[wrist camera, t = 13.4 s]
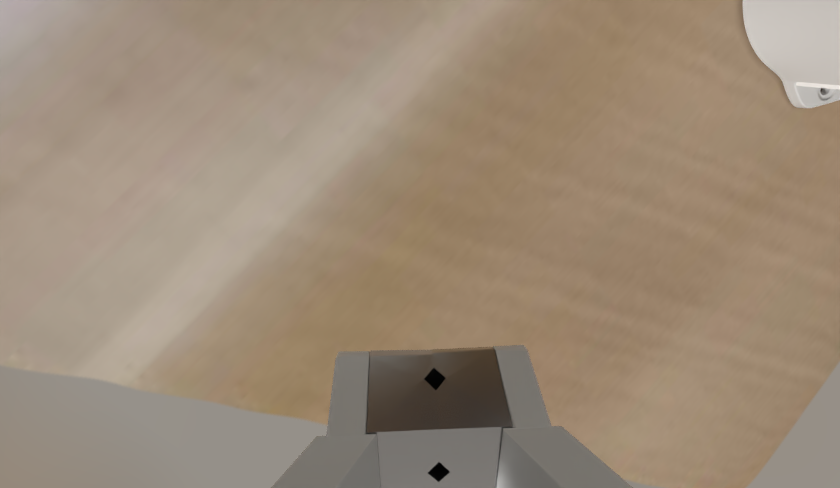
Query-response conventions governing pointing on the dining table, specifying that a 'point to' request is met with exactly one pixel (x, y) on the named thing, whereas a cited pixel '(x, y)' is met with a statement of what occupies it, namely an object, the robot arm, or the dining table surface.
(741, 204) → the dining table surface
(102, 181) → the dining table surface
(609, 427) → the dining table surface
